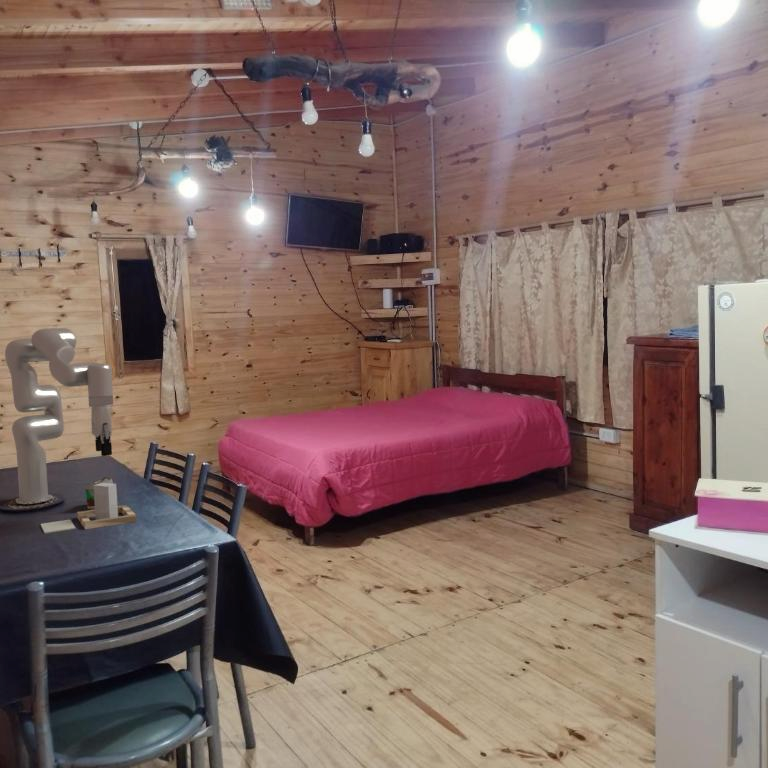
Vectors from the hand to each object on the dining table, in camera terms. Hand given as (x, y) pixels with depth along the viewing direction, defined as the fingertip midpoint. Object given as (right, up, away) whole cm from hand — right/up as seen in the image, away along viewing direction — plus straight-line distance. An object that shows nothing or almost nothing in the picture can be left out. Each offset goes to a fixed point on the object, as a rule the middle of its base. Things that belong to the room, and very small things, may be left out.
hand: (103, 452), depth 238 cm
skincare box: (0, -23, +2) cm, 23 cm away
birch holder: (0, -22, +2) cm, 23 cm away
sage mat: (-13, -23, -6) cm, 27 cm away
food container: (-7, -21, +18) cm, 29 cm away
